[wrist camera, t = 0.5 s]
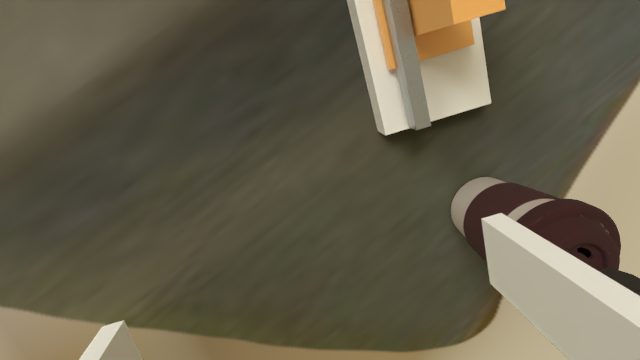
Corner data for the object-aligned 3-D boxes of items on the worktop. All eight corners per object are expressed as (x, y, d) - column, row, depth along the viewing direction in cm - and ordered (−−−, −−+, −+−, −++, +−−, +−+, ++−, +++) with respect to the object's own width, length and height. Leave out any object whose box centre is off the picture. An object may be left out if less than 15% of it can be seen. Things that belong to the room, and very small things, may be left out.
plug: (359, -15, 35) (404, -64, 22) (452, -42, 35) (548, -106, 23) (378, 70, 37) (429, 67, 25) (465, 43, 38) (559, 28, 25)
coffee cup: (453, 258, 44) (537, 345, 30) (426, 188, 41) (504, 247, 27) (528, 222, 44) (649, 293, 30) (506, 149, 41) (628, 189, 27)
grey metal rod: (346, -129, 28) (351, -144, 26) (378, -139, 28) (385, -154, 27) (402, 129, 34) (409, 132, 33) (428, 121, 35) (437, 123, 33)
